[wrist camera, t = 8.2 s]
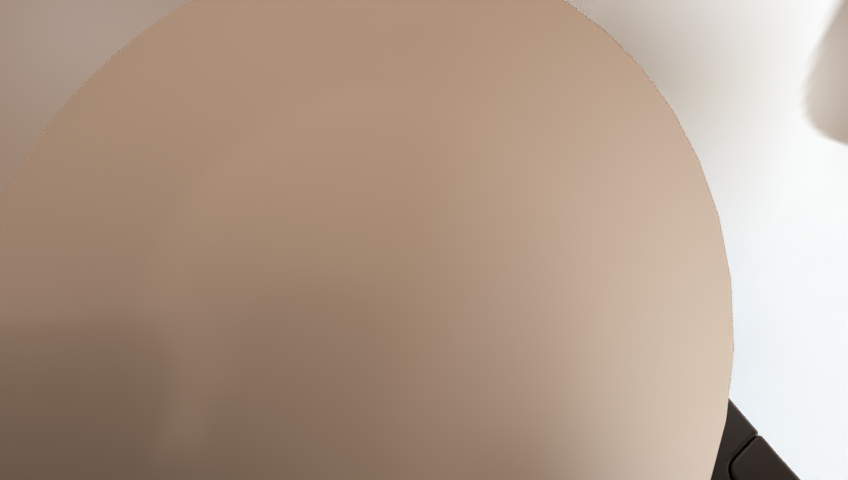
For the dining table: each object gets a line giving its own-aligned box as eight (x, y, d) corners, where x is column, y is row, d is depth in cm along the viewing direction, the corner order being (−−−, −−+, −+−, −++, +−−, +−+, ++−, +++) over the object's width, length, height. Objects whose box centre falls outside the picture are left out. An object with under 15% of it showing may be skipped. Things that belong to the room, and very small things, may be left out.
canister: (606, 427, 14) (1007, 644, 2) (443, 482, 14) (-83, 925, 2) (537, 268, 16) (506, -157, 4) (395, 323, 16) (-42, 115, 4)
